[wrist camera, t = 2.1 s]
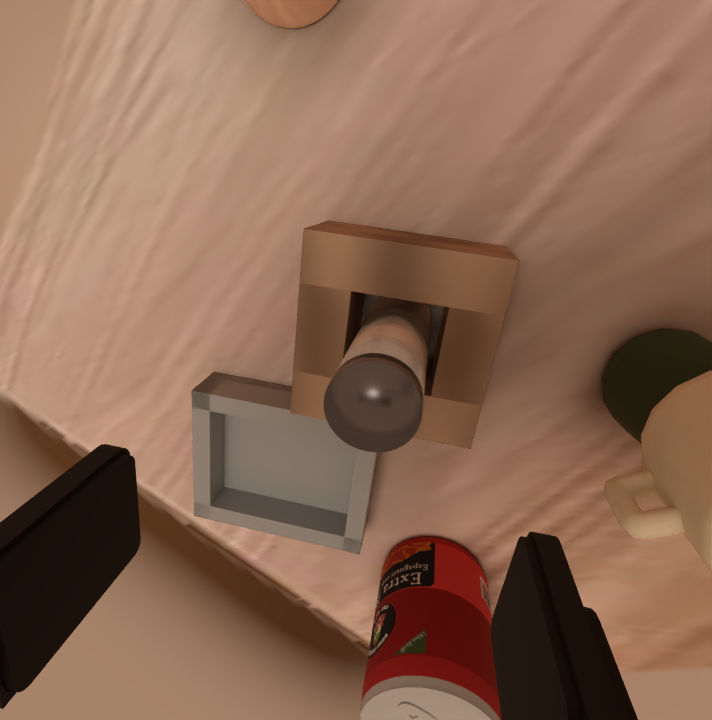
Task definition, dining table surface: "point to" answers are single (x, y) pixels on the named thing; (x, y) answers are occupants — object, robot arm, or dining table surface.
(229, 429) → the tray
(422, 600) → the canned food
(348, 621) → the dining table surface
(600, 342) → the dining table surface
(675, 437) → the character mug
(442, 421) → the block
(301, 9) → the beer glass
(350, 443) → the pin
